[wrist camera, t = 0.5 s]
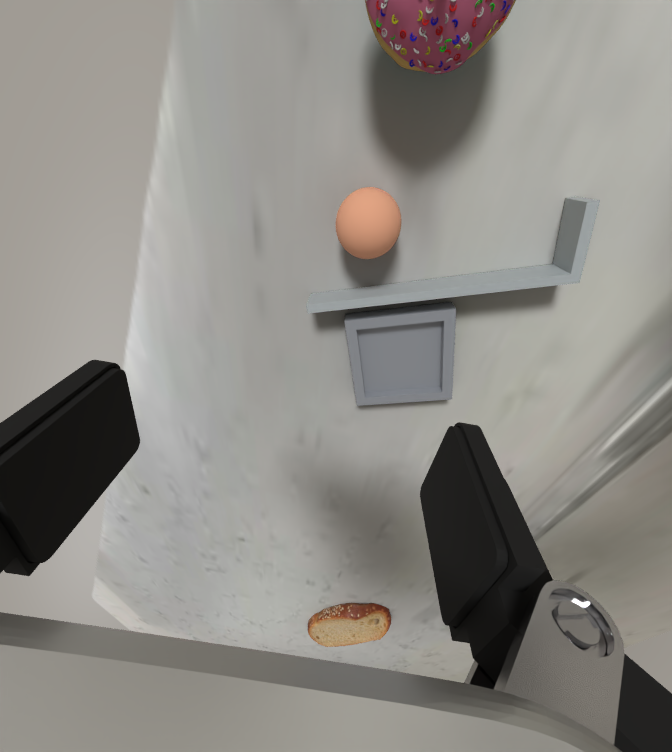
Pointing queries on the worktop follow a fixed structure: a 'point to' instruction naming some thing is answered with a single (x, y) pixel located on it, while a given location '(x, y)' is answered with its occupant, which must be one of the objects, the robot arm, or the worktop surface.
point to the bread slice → (349, 624)
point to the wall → (561, 272)
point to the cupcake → (435, 30)
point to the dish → (402, 353)
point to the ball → (368, 223)
